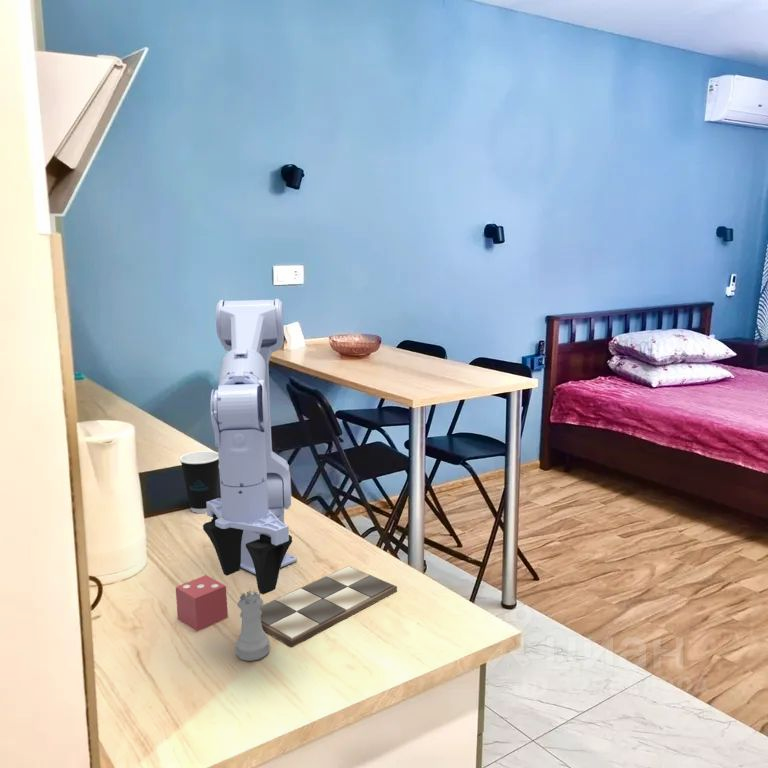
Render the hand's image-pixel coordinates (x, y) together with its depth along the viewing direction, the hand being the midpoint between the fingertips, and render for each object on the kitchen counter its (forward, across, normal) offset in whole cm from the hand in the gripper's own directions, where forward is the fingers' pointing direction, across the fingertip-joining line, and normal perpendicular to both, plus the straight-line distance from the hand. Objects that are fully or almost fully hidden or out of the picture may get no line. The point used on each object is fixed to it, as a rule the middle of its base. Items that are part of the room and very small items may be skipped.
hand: (249, 581), depth 91 cm
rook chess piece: (+10, 0, 0) cm, 10 cm away
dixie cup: (+10, -50, +24) cm, 56 cm away
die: (+10, -12, 0) cm, 16 cm away
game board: (+10, -2, +14) cm, 18 cm away
